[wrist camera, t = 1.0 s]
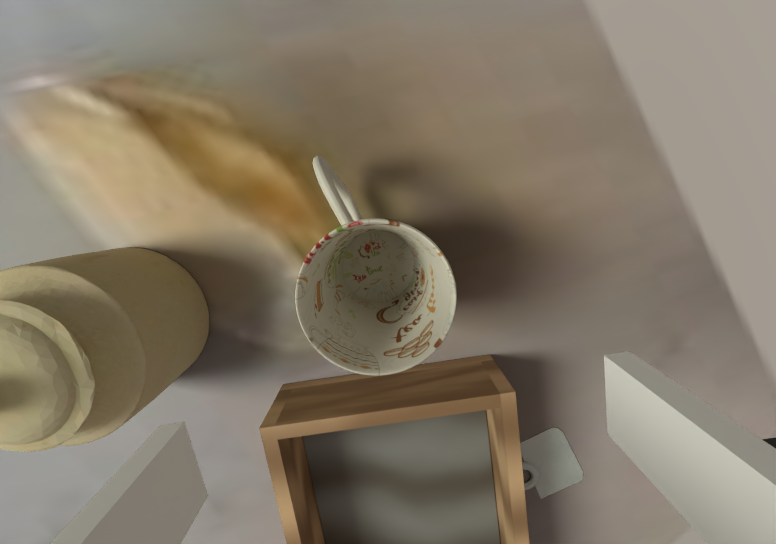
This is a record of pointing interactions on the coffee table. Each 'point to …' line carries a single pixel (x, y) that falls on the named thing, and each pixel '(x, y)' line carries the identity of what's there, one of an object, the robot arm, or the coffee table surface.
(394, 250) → the mug
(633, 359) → the robot arm
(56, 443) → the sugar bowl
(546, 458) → the mounting bracket
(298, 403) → the open wooden crate
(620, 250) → the coffee table surface
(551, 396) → the coffee table surface
